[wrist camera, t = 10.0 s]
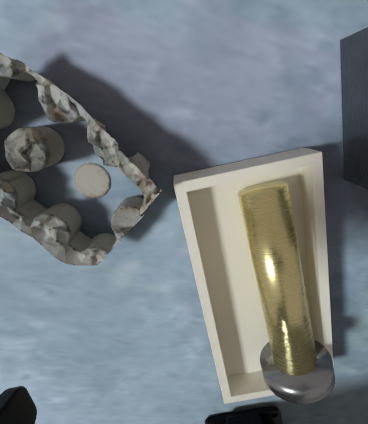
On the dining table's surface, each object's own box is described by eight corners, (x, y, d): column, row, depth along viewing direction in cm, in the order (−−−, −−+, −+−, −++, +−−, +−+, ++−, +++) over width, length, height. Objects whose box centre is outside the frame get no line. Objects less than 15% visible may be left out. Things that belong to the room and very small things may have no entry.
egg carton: (173, 177, 18) (172, 194, 14) (100, 255, 20) (82, 289, 16) (30, 48, 16) (-18, 26, 12) (-39, 149, 17) (-102, 159, 13)
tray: (319, 358, 23) (334, 384, 21) (220, 376, 23) (224, 403, 21) (303, 147, 17) (322, 151, 15) (173, 175, 18) (173, 183, 16)
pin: (292, 338, 22) (350, 372, 18) (249, 372, 20) (304, 419, 16) (261, 177, 19) (324, 176, 15) (207, 198, 17) (262, 204, 13)
